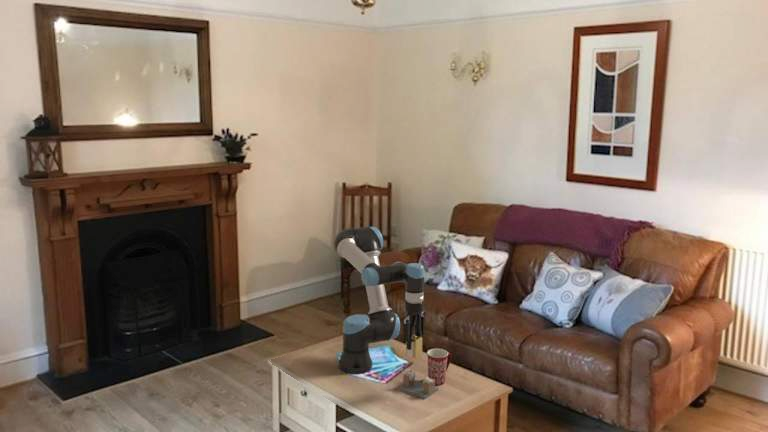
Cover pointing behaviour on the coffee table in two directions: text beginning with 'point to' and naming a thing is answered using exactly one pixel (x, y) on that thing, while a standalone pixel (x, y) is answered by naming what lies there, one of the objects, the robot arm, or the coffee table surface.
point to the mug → (438, 365)
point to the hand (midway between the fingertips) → (413, 354)
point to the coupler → (416, 346)
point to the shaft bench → (418, 385)
